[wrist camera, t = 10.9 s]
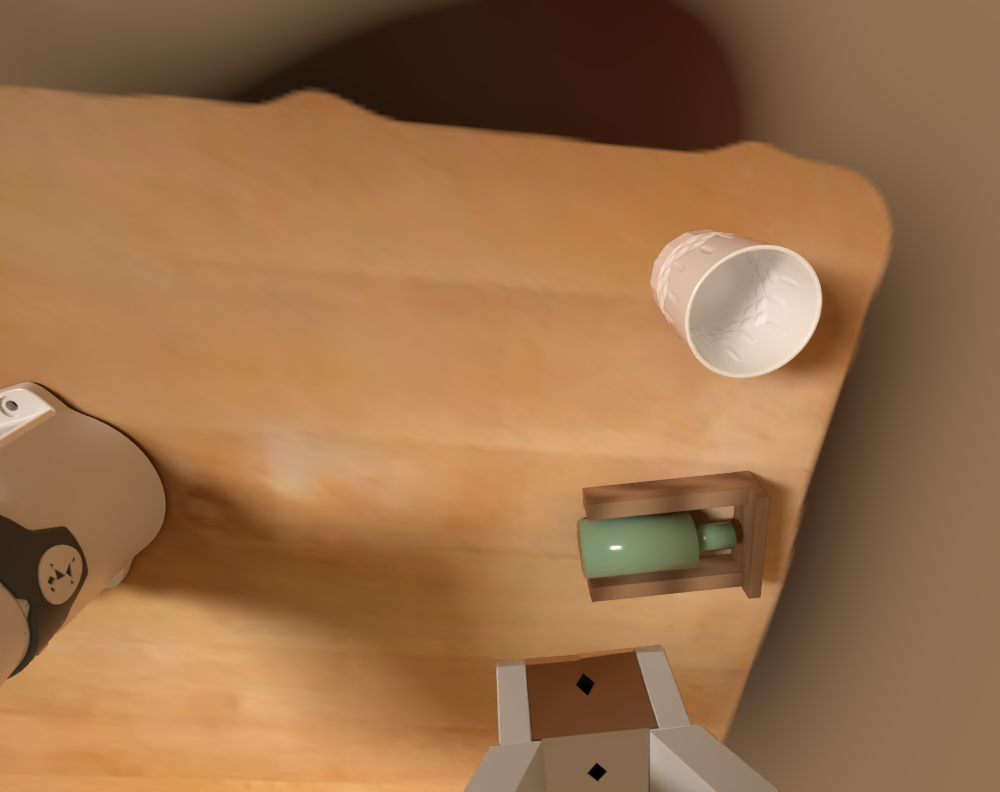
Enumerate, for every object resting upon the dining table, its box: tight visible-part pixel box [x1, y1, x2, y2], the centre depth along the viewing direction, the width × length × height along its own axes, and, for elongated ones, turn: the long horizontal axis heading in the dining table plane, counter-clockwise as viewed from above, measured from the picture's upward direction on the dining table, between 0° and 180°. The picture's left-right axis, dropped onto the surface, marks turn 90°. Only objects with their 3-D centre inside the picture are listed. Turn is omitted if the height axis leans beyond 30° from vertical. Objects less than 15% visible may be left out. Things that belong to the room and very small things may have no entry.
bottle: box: [577, 511, 736, 579], centre depth 50 cm, size 5×5×12 cm
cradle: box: [582, 471, 770, 602], centre depth 51 cm, size 14×10×4 cm
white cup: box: [650, 229, 822, 378], centre depth 39 cm, size 8×8×10 cm
